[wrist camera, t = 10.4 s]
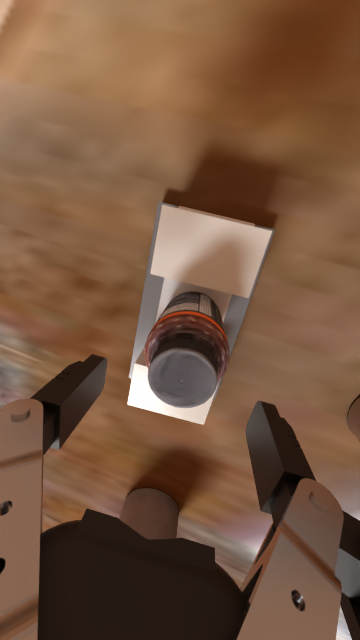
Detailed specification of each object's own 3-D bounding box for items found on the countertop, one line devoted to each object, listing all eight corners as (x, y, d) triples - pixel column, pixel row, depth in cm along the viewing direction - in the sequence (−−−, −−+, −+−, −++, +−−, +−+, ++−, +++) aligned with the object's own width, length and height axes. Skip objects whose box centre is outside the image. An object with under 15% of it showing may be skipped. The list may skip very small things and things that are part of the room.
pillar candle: (183, 524, 38) (170, 689, 24) (131, 523, 39) (91, 677, 25) (173, 486, 35) (151, 648, 21) (118, 486, 36) (63, 637, 22)
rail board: (213, 392, 28) (216, 434, 22) (132, 371, 28) (112, 406, 22) (270, 230, 21) (297, 224, 15) (161, 204, 21) (143, 187, 15)
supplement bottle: (220, 343, 23) (233, 427, 12) (166, 342, 24) (135, 421, 13) (222, 289, 21) (239, 334, 10) (163, 289, 22) (123, 332, 11)
